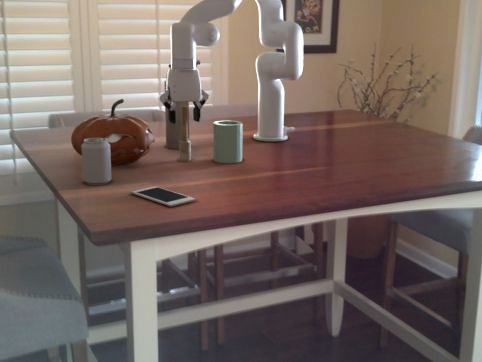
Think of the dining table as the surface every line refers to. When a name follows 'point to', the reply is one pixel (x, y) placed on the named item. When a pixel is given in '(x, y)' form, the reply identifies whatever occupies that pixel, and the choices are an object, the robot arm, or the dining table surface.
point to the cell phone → (163, 196)
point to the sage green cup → (227, 141)
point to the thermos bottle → (175, 129)
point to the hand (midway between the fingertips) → (184, 121)
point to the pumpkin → (116, 135)
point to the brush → (184, 139)
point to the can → (96, 161)
